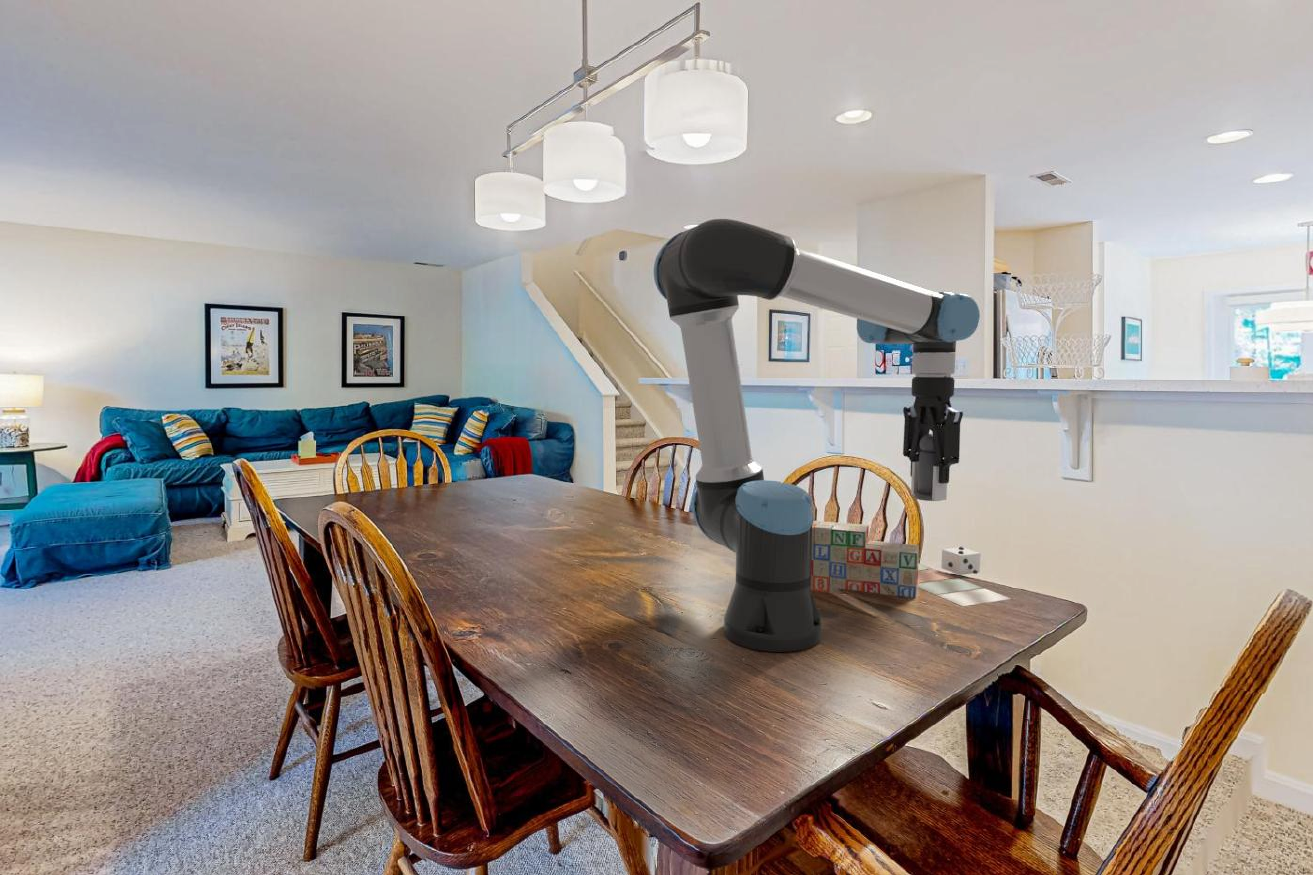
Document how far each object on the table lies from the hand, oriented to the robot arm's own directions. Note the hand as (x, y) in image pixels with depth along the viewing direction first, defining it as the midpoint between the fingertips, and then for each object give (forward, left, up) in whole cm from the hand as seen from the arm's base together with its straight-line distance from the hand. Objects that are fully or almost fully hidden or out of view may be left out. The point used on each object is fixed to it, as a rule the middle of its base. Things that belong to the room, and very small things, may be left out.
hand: (928, 496), depth 135 cm
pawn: (0, 0, 0) cm, 0 cm away
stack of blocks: (-16, 0, -17) cm, 23 cm away
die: (+10, +1, -17) cm, 20 cm away
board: (0, -3, -17) cm, 17 cm away
